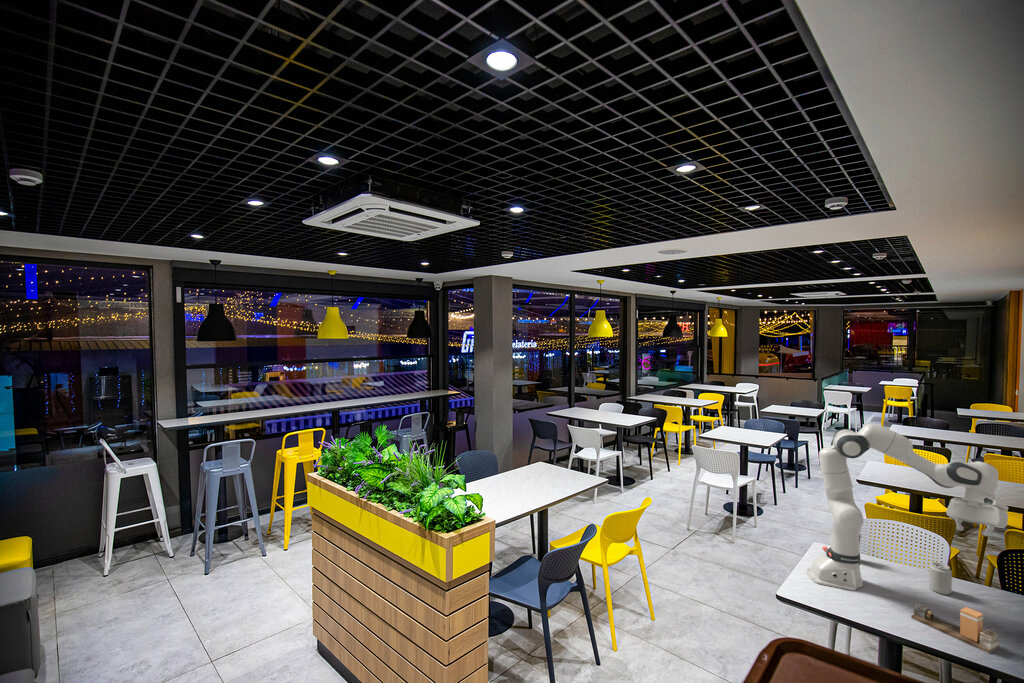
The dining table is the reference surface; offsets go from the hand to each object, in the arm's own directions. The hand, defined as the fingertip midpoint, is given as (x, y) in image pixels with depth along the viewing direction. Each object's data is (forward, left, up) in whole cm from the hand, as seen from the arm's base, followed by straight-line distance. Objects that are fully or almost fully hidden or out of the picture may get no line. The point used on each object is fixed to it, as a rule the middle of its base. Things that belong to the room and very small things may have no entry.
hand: (971, 532), depth 195 cm
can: (-1, +19, -35) cm, 40 cm away
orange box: (-10, -18, -34) cm, 40 cm away
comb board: (-14, -14, -35) cm, 40 cm away
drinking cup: (-27, +43, -35) cm, 62 cm away
